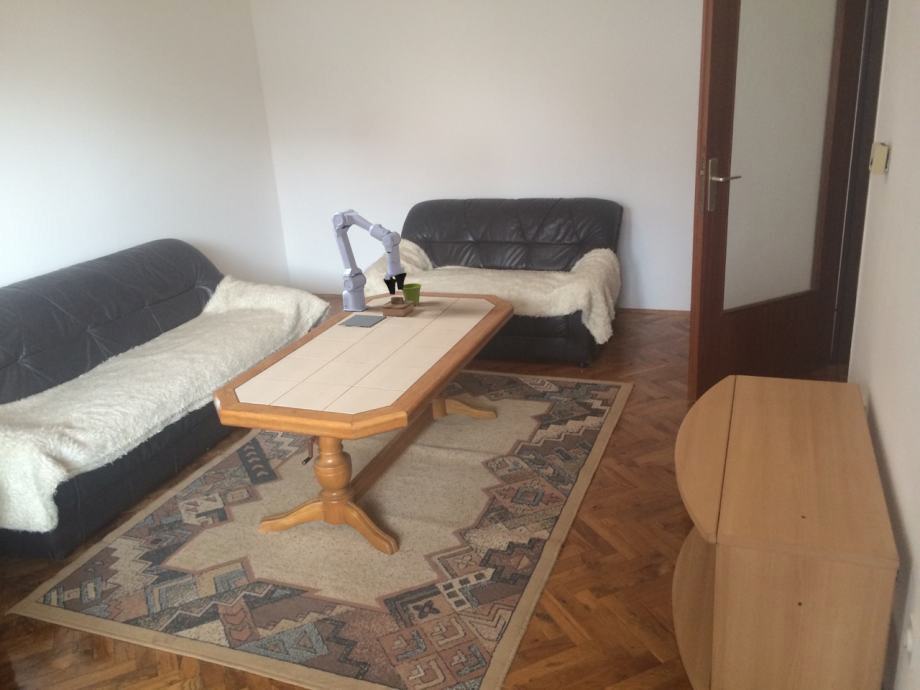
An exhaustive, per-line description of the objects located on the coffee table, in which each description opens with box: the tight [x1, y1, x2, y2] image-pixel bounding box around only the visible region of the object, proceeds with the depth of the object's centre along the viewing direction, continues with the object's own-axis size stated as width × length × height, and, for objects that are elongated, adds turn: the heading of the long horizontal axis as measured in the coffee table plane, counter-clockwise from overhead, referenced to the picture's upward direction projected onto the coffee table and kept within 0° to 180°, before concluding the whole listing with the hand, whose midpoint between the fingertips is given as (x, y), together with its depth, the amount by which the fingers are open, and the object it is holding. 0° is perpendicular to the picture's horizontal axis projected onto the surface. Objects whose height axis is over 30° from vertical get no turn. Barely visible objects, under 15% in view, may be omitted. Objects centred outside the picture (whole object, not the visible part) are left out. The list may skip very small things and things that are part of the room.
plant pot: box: [401, 282, 422, 306], centre depth 337 cm, size 9×9×9 cm
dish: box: [381, 304, 415, 318], centre depth 326 cm, size 10×10×4 cm
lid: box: [380, 296, 415, 310], centre depth 325 cm, size 11×11×4 cm
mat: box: [338, 314, 388, 328], centre depth 318 cm, size 15×15×1 cm
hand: (396, 292), depth 324 cm, fingers open, 7 cm apart
